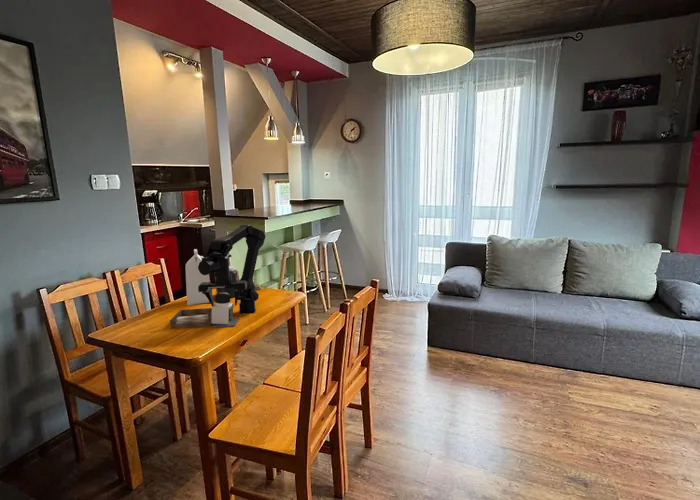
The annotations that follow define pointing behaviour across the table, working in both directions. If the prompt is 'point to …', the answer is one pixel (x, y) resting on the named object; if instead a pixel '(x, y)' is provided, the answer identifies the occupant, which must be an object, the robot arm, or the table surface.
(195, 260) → the milk
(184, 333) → the table surface
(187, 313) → the walnut rack
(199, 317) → the offcut stack
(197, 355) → the table surface
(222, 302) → the medicine bottle
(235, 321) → the rubber mat
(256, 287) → the house of cards
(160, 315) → the table surface
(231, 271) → the jar
